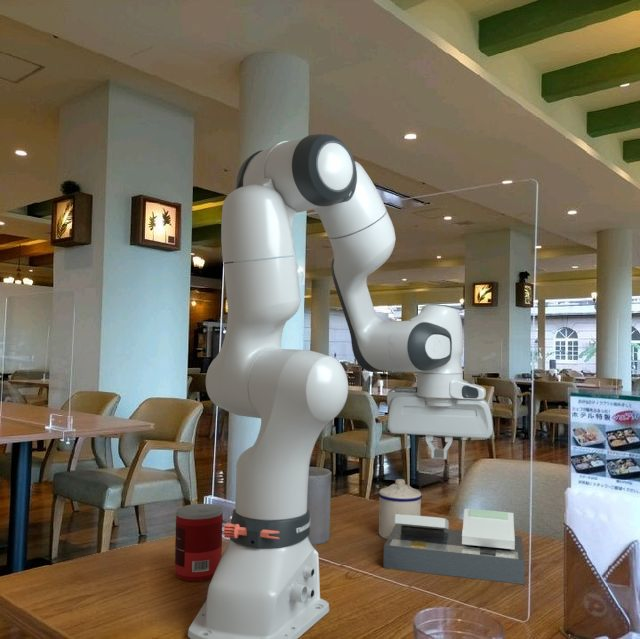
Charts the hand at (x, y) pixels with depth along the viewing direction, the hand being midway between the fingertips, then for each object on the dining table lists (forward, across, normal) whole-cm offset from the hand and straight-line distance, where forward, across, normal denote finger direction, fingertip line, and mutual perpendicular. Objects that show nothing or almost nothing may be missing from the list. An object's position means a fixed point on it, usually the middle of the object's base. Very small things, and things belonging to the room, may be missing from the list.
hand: (439, 458), depth 122 cm
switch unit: (+18, +3, -5) cm, 19 cm away
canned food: (+18, -39, -25) cm, 50 cm away
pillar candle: (+18, -27, 0) cm, 32 cm away
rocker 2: (+11, +9, -4) cm, 15 cm away
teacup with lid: (+18, -10, +9) cm, 22 cm away
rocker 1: (+11, -3, -4) cm, 12 cm away
